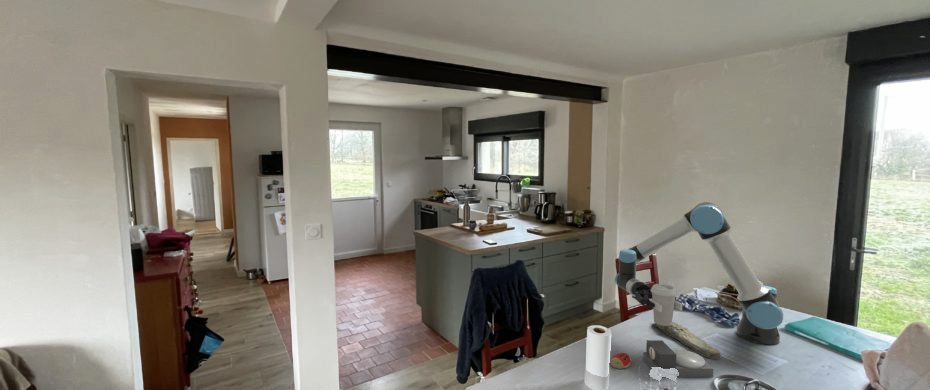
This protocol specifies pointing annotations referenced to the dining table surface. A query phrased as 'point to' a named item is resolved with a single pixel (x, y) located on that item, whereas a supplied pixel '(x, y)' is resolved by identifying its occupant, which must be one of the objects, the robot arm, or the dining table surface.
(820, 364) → the dining table surface
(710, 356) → the elongated rock
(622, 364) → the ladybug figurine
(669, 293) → the coffee cup
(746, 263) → the robot arm
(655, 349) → the kitchen scale
